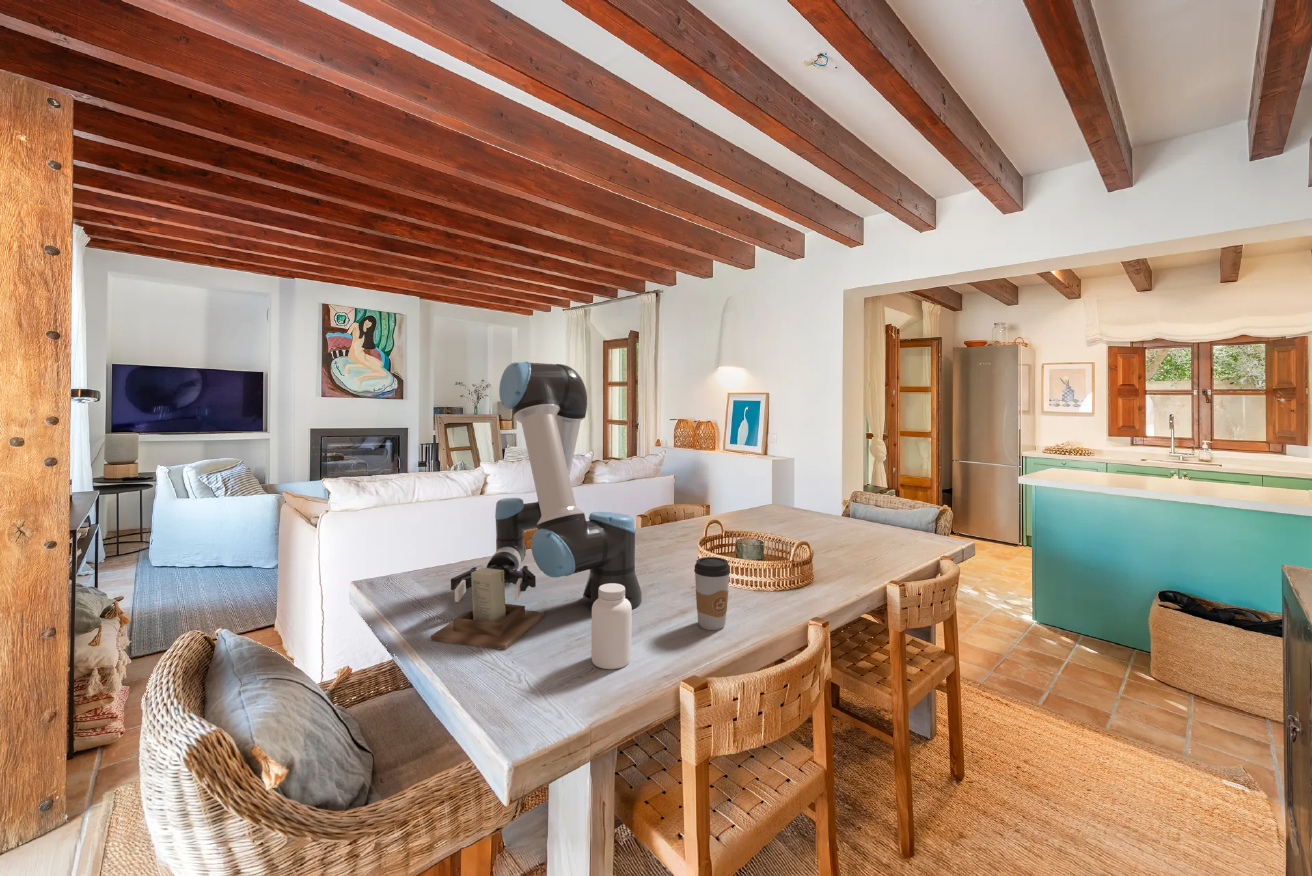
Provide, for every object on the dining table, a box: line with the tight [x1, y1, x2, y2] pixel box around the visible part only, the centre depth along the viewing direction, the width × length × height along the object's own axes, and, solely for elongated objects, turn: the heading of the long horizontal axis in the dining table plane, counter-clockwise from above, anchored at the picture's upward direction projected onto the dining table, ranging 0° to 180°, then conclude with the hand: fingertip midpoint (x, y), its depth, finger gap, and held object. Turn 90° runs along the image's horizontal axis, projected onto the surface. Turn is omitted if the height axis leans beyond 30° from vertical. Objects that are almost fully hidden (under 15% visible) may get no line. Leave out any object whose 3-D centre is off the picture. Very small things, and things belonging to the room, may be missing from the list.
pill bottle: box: [590, 583, 633, 670], centre depth 106 cm, size 8×8×15 cm
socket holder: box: [430, 603, 545, 650], centre depth 122 cm, size 18×18×4 cm
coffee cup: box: [694, 556, 731, 631], centre depth 123 cm, size 8×8×15 cm
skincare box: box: [471, 567, 506, 622], centre depth 121 cm, size 6×4×12 cm
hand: (486, 594), depth 117 cm, fingers open, 12 cm apart
